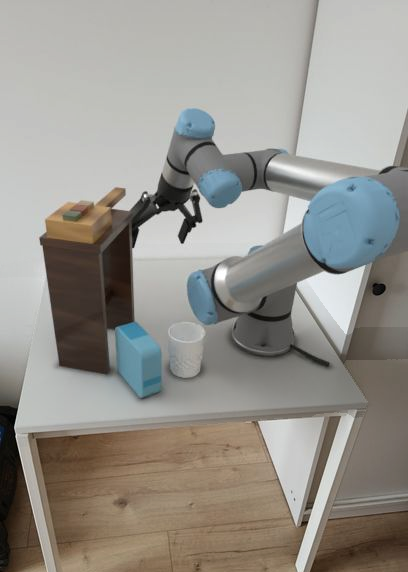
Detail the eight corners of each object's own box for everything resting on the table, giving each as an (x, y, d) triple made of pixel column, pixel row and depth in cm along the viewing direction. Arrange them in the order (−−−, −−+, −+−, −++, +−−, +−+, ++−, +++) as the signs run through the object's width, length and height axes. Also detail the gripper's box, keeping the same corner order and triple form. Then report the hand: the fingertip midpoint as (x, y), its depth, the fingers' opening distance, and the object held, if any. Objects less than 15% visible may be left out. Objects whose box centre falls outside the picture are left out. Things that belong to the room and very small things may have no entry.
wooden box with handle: (102, 192, 116) (100, 172, 113) (139, 197, 115) (139, 176, 112) (47, 237, 93) (43, 213, 91) (92, 244, 92) (91, 220, 89)
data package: (161, 394, 105) (162, 347, 98) (142, 401, 102) (141, 353, 96) (135, 364, 113) (133, 318, 106) (116, 370, 110) (114, 324, 104)
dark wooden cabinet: (90, 321, 126) (79, 204, 109) (136, 329, 124) (133, 211, 107) (57, 365, 111) (38, 237, 93) (109, 374, 109) (100, 245, 92)
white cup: (207, 362, 114) (209, 326, 109) (196, 383, 108) (199, 345, 102) (174, 355, 116) (175, 318, 110) (162, 375, 110) (162, 337, 104)
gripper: (221, 164, 117) (195, 227, 134) (118, 166, 106) (104, 234, 124) (233, 188, 114) (204, 249, 132) (129, 192, 103) (113, 258, 121)
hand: (156, 241), depth 128 cm, fingers open, 13 cm apart
